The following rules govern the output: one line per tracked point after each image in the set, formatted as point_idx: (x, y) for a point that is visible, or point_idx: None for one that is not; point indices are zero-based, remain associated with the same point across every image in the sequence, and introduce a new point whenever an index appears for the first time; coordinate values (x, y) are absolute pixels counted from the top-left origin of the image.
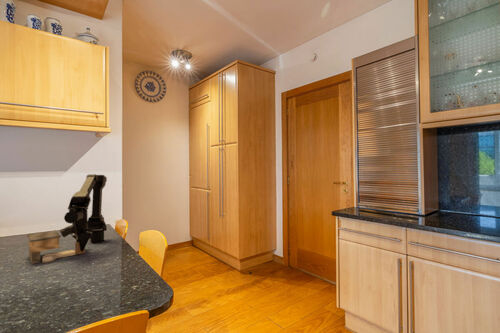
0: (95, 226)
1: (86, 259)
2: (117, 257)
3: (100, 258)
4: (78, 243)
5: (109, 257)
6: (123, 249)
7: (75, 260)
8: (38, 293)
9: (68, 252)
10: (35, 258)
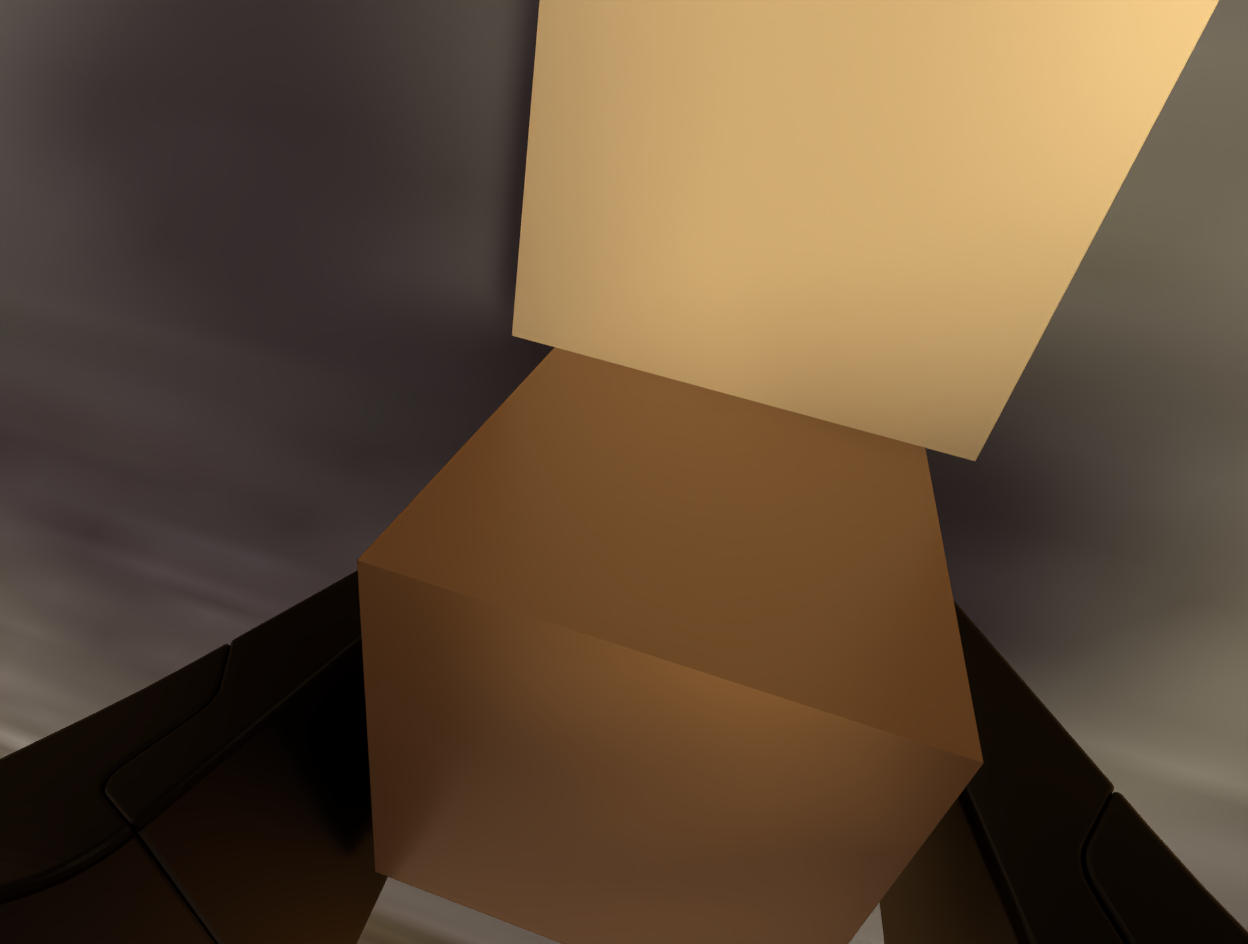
0: None
1: (46, 411)
2: (11, 735)
3: (32, 596)
4: (479, 739)
5: (46, 687)
6: (400, 930)
7: (42, 177)
8: None
9: (748, 86)
10: None
